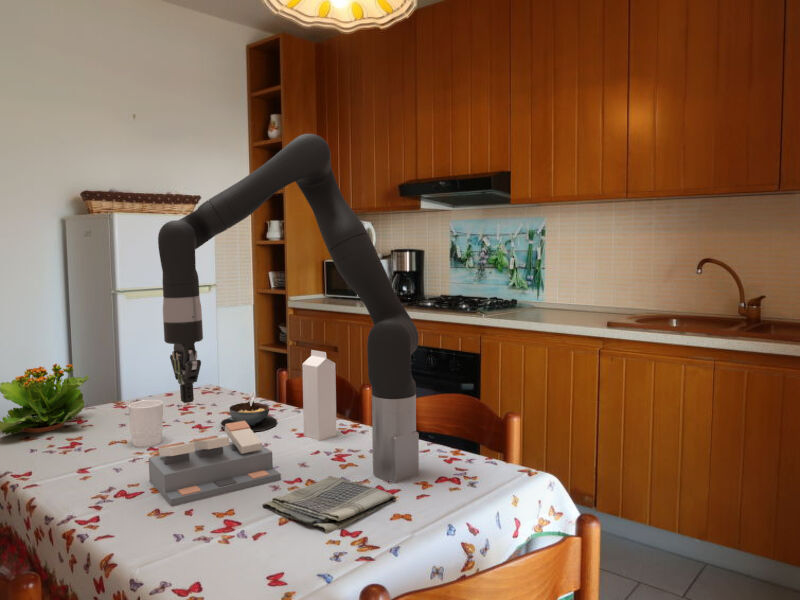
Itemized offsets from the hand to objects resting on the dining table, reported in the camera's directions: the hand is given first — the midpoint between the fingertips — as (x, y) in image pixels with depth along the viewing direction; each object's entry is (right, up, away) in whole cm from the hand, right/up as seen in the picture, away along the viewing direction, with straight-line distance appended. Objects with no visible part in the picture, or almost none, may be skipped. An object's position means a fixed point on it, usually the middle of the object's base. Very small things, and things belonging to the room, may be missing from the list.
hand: (187, 401), depth 127 cm
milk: (+24, -14, +29) cm, 40 cm away
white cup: (-18, -15, +25) cm, 34 cm away
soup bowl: (+3, -14, +40) cm, 42 cm away
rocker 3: (+10, -8, +5) cm, 14 cm away
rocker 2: (+5, -9, 0) cm, 10 cm away
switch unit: (+6, -16, -1) cm, 17 cm away
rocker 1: (-1, -9, -4) cm, 10 cm away
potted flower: (-52, -14, +40) cm, 67 cm away
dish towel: (+31, -18, -13) cm, 38 cm away
